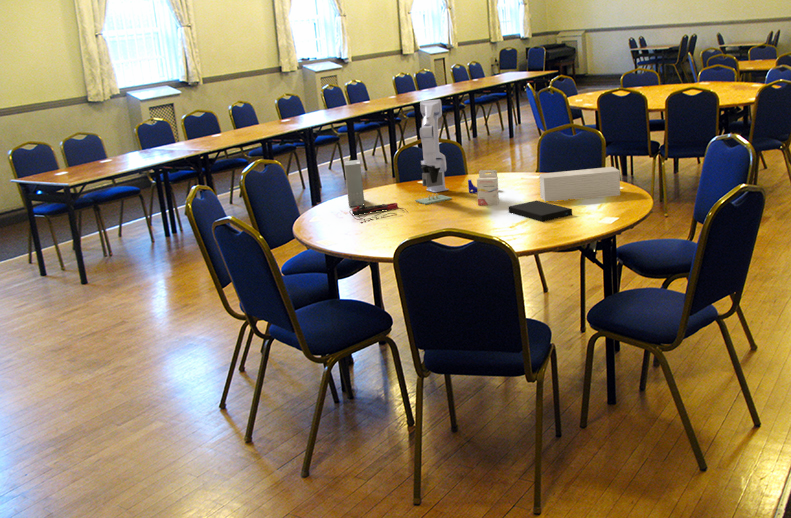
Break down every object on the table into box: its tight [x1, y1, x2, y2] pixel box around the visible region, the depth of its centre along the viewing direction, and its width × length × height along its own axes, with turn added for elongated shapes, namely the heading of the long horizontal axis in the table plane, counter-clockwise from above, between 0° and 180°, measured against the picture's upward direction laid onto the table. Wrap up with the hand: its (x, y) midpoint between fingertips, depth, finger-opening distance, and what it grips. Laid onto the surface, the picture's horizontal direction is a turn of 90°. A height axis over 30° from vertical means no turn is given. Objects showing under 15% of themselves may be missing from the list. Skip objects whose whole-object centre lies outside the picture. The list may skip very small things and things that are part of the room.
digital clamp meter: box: [348, 202, 409, 224], centre depth 318 cm, size 23×4×25 cm
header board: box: [414, 192, 452, 206], centre depth 334 cm, size 10×14×3 cm
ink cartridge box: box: [476, 169, 500, 206], centre depth 314 cm, size 9×5×15 cm, turn 71°
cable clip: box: [467, 179, 478, 194], centre depth 343 cm, size 12×4×6 cm, turn 86°
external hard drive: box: [508, 200, 573, 223], centre depth 289 cm, size 14×23×3 cm, turn 24°
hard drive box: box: [343, 159, 366, 207], centre depth 344 cm, size 16×8×20 cm, turn 4°
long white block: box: [539, 166, 621, 203], centre depth 312 cm, size 32×11×11 cm, turn 89°
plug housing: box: [421, 172, 443, 188], centre depth 332 cm, size 5×8×6 cm, turn 115°
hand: (431, 181), depth 332 cm, fingers closed on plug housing, 5 cm apart
